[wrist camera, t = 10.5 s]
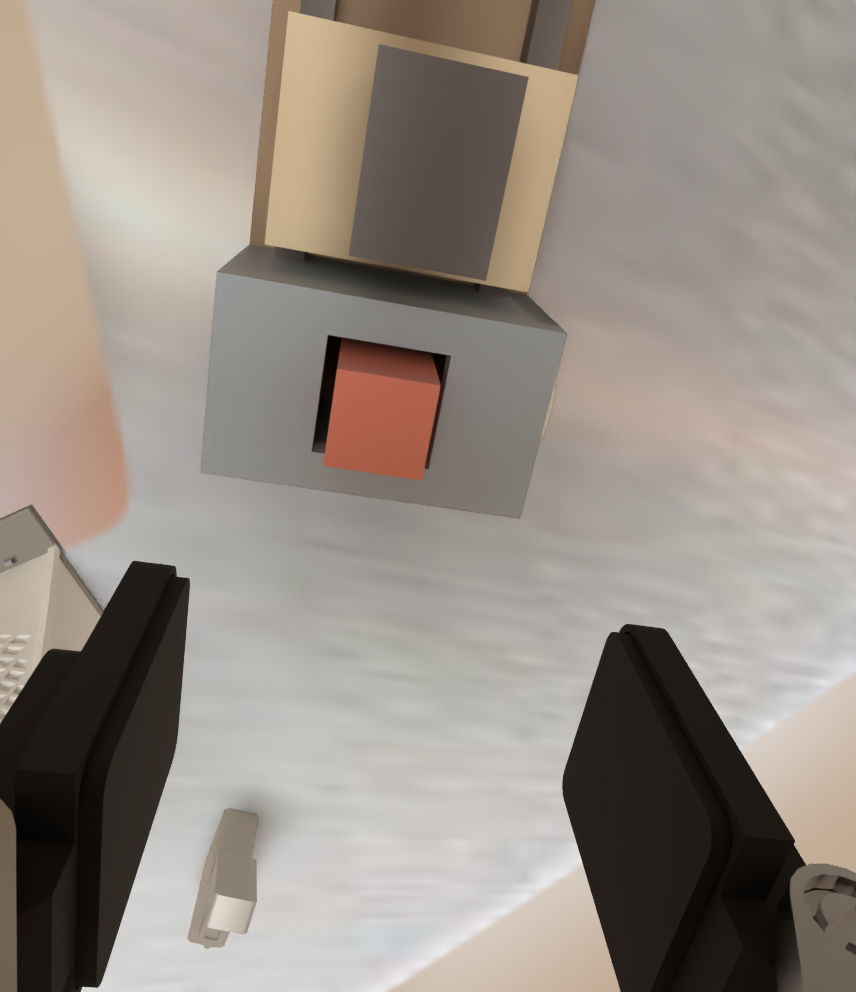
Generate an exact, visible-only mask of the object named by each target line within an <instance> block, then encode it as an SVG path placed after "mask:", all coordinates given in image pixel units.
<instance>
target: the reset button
mask: <svg viewBox="0 0 856 992" xmlns="http://www.w3.org/2000/svg"><path fill="white" fill-rule="evenodd" d="M440 387H441V385H440V381H439V378H438V374H437V371H436V367H435V364H434V361H433V357H432V354H431V352H427V351H421V350H415V349H409V348H403V347H397V346H391V345H385V344H379V343H373V342H368V341H362V340H356V339H350V338H344V337H342V339H341V346H340V353H339V359H338V366H337V373H336V380H335V387H334V394H333V401H332V407H331V414H330V421H329V428H328V435H327V442H326V449H325V456H324V463H323V466H326V467H333V468H340V469H347V470H354V471H360V472H367V473H374V474H381V475H387V476H394V477H401V478H408V479H414V480H421V481H422V478H423V473H424V468H425V463H426V458H427V453H428V448H429V443H430V438H431V433H432V428H433V422H434V417H435V412H436V407H437V402H438V397H439V392H440Z"/></svg>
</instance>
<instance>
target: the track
mask: <svg viewBox="0 0 856 992" xmlns="http://www.w3.org/2000/svg"><path fill="white" fill-rule="evenodd" d="M594 3H595V0H273V6H272V16H271V26H270V37H269V47H268V58H267V68H266V79H265V89H264V100H263V110H262V120H261V131H260V141H259V152H258V162H257V173H256V183H255V194H254V204H253V214H252V225H251V235H250V245H255V246H261V247H266V248H271V249H274V255H275V256H281V257H286V258H292V259H297V260H303V261H304V260H305V258H306V256H307V255H310V256H315V257H321V258H326V259H332V260H337V261H343V262H348V263H354V264H359V265H365V266H370V267H376V268H381V269H387V270H392V271H398V272H403V273H409V274H414V275H420V276H425V277H431V278H436V279H442V280H447V281H453V282H458V283H464V284H469V285H474V286H475V288H476V289H477V291H478V292H479V293H485V294H490V295H496V296H501V297H507V295H508V292H513V293H518V294H524V295H527V294H528V292H523V291H517V290H512V289H506V288H501V287H495V286H490V285H484V284H479V283H473V282H468V281H462V280H457V279H451V278H446V277H440V276H435V275H430V274H424V273H419V272H413V271H408V270H402V269H397V268H391V267H386V266H380V265H375V264H369V263H364V262H358V261H353V260H347V259H342V258H336V257H331V256H326V255H320V254H315V253H309V252H304V251H298V250H293V249H287V248H282V247H276V246H271V245H265V235H266V225H267V215H268V205H269V196H270V186H271V176H272V166H273V157H274V147H275V137H276V128H277V118H278V108H279V98H280V89H281V79H282V69H283V59H284V50H285V40H286V30H287V20H288V11H291V12H296V13H300V14H305V15H309V16H314V17H318V18H323V19H327V20H332V21H336V22H341V23H345V24H350V25H354V26H359V27H363V28H368V29H372V30H377V31H381V32H386V33H390V34H395V35H399V36H404V37H408V38H413V39H417V40H422V41H426V42H431V43H435V44H440V45H444V46H449V47H453V48H458V49H462V50H467V51H471V52H476V53H480V54H485V55H489V56H494V57H498V58H503V59H507V60H512V61H516V62H521V63H525V64H530V65H534V66H539V67H543V68H548V69H552V70H557V71H561V72H566V73H570V74H575V75H578V73H579V68H580V64H581V60H582V55H583V51H584V47H585V42H586V38H587V34H588V29H589V25H590V21H591V16H592V12H593V8H594ZM341 339H342V337H338V336H332V335H328V341H327V348H326V355H325V363H324V370H323V377H322V384H321V392H320V399H319V401H323V402H329V403H332V401H333V394H334V387H335V380H336V373H337V366H338V359H339V353H340V346H341ZM431 354H432V357H433V361H434V364H435V367H436V371H437V374H438V378H439V381H440V385H441V382H442V377H443V372H444V367H445V362H446V357H447V355H444V354H438V353H432V352H431Z"/></svg>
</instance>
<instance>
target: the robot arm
mask: <svg viewBox="0 0 856 992" xmlns="http://www.w3.org/2000/svg"><path fill="white" fill-rule="evenodd" d="M189 590H190V580H189V578H182V577H176V567H175V566H171V565H163V564H155V563H147V562H139V561H133V562H132V563H131V564H130V566H129V568H128V570H127V571H126V573H125V575H124V577H123V578H122V580H121V582H120V584H119V586H118V587H117V589H116V591H115V593H114V594H113V596H112V598H111V600H110V601H109V603H108V605H107V607H106V608H105V610H104V612H103V614H102V615H101V617H100V619H99V621H98V622H97V624H96V626H95V628H94V629H93V631H92V633H91V635H90V636H89V638H88V640H87V642H86V643H85V645H84V647H83V649H82V650H81V651H72V650H63V649H54V648H53V649H51V650H48V651H47V653H46V654H45V655H44V656H43V657H42V659H41V660H40V662H39V664H38V665H37V667H36V668H35V670H34V671H33V673H32V675H31V676H30V678H29V679H28V681H27V682H26V684H25V686H24V687H23V689H22V690H21V692H20V693H19V695H18V697H17V698H16V700H15V701H14V703H13V704H12V706H11V708H10V709H9V711H8V712H7V714H6V715H5V717H4V718H3V720H2V722H1V723H0V992H81V989H82V987H96V988H98V987H99V986H100V984H101V982H102V979H103V976H104V973H105V970H106V967H107V964H108V961H109V958H110V955H111V952H112V948H113V945H114V942H115V939H116V936H117V933H118V930H119V927H120V923H121V920H122V917H123V914H124V911H125V908H126V905H127V902H128V898H129V895H130V892H131V889H132V886H133V883H134V880H135V877H136V873H137V870H138V867H139V864H140V861H141V858H142V855H143V852H144V848H145V845H146V842H147V839H148V836H149V833H150V830H151V827H152V823H153V820H154V817H155V814H156V811H157V808H158V805H159V802H160V798H161V795H162V792H163V789H164V786H165V783H166V780H167V777H168V773H169V770H170V767H171V764H172V761H173V757H174V753H175V748H176V743H177V736H178V726H179V714H180V701H181V689H182V677H183V664H184V652H185V640H186V627H187V615H188V603H189ZM562 789H563V797H564V801H565V805H566V808H567V812H568V815H569V818H570V822H571V825H572V828H573V832H574V835H575V839H576V842H577V845H578V849H579V852H580V856H581V859H582V862H583V866H584V869H585V872H586V876H587V879H588V882H589V886H590V889H591V893H592V896H593V899H594V903H595V906H596V910H597V913H598V916H599V919H600V923H601V926H602V929H603V933H604V937H605V940H606V943H607V947H608V950H609V953H610V957H611V960H612V964H613V967H614V970H615V974H616V977H617V980H618V984H619V987H620V991H621V992H856V873H854V872H852V871H850V870H848V869H846V868H841V867H838V866H834V865H830V864H809V865H806V864H805V863H804V861H803V859H802V858H801V856H800V854H799V853H798V851H797V849H796V848H795V846H794V842H795V840H794V838H793V837H792V835H791V833H790V832H789V830H788V828H787V827H786V825H785V823H784V822H783V820H782V819H781V817H780V815H779V814H778V812H777V810H776V809H775V807H774V806H773V804H772V802H771V801H770V799H769V797H768V796H767V794H766V792H765V791H764V789H763V787H762V786H761V784H760V783H759V781H758V779H757V778H756V776H755V774H754V773H753V771H752V769H751V768H750V766H749V765H748V763H747V761H746V760H745V758H744V756H743V755H742V753H741V751H740V750H739V748H738V746H737V745H736V743H735V742H734V740H733V738H732V737H731V735H730V733H729V732H728V730H727V728H726V727H725V725H724V724H723V722H722V720H721V719H720V717H719V715H718V714H717V712H716V710H715V709H714V707H713V706H712V704H711V702H710V701H709V699H708V697H707V696H706V694H705V692H704V691H703V689H702V688H701V686H700V684H699V683H698V681H697V679H696V678H695V676H694V674H693V673H692V671H691V669H690V668H689V666H688V665H687V663H686V661H685V660H684V658H683V656H682V655H681V653H680V651H679V650H678V648H677V647H676V645H675V643H674V642H673V640H672V638H671V637H670V635H669V633H668V632H667V631H666V630H665V629H662V628H655V627H647V626H640V625H632V624H626V625H624V626H623V627H622V628H621V630H620V632H619V633H618V632H612V633H610V635H609V636H608V638H607V640H606V643H605V646H604V649H603V652H602V655H601V659H600V662H599V665H598V668H597V671H596V674H595V677H594V680H593V683H592V687H591V690H590V693H589V696H588V699H587V702H586V705H585V708H584V711H583V715H582V718H581V721H580V724H579V727H578V730H577V733H576V736H575V739H574V743H573V746H572V749H571V752H570V755H569V758H568V761H567V764H566V767H565V771H564V775H563V784H562Z"/></svg>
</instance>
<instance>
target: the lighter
mask: <svg viewBox="0 0 856 992" xmlns="http://www.w3.org/2000/svg"><path fill="white" fill-rule="evenodd" d="M257 823H258V817H257V815H255V814H251V813H247V812H242V811H238V810H234V809H226V810H224V813H223V816H222V818H221V821H220V824H219V827H218V829H217V832H216V835H215V837H214V840H213V843H212V845H211V848H210V851H209V854H208V856H207V859H206V862H205V865H204V869H203V874H202V878H201V882H200V887H199V891H198V895H197V900H196V904H195V908H194V913H193V917H192V921H191V926H190V930H189V934H188V940H189V941H190V942H193V943H199V944H201V945H204V947H205V948H210V947H219V948H220V947H222V946H224V945H225V942H226V940H227V937H228V935H229V932H233V933H238V934H245V933H247V930H248V927H249V924H250V921H251V918H252V914H253V911H254V908H255V905H256V902H257V878H256V860H254V859H253V858H252V853H253V847H254V841H255V835H256V829H257Z"/></svg>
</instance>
